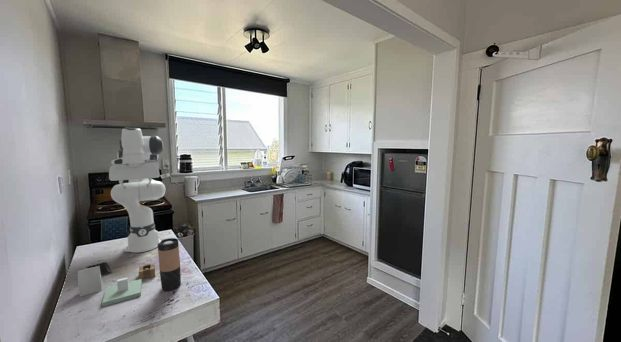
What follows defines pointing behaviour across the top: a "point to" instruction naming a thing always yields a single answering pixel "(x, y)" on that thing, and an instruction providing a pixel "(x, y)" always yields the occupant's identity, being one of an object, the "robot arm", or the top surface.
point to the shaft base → (122, 291)
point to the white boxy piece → (89, 281)
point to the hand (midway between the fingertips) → (136, 188)
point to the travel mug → (169, 264)
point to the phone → (102, 268)
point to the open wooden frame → (147, 271)
